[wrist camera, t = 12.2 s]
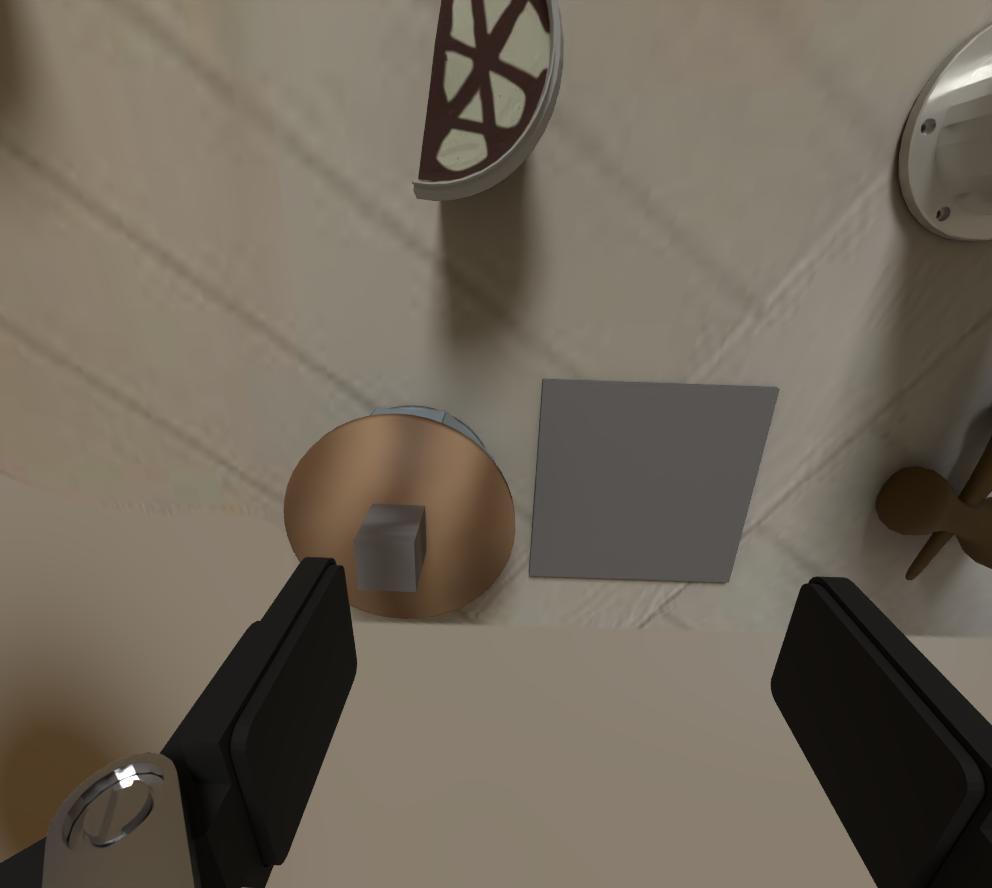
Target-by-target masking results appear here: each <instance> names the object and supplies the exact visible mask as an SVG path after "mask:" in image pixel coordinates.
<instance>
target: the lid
mask: <svg viewBox="0 0 992 888" xmlns="http://www.w3.org/2000/svg"><path fill="white" fill-rule="evenodd" d="M284 521H285V527H286V532H287V536H288V539H289V541H290V544H291V547H292V549H293V551H294V553H295V555H296V557H297V558H298V560H299V562H301V561H302V560H303V559H304V558H305V557H326V558H334V559H335V561H336V564H337V565H342V566H343V567H344V570H345V577H346V584H347V591H348V599H349V605H350V606H353V607H355V608H358V609H360V610H363V611H366V612H369V613H372V614H376V615H380V616H386V617H391V618H404V619H409V618H425V617H432V616H436V615H441V614H445V613H448V612H450V611H453V610H456V609H458V608H460V607H462V606H464V605H466V604H468V603H470V602H472V601H473V600H474V599H476V598H477V597H479V596H480V595H481V594H483V593H484V592H485V591H486V590H487V589H488V588H489V587H490V586H491V585H492V584H493V583H494V582H495V581H496V579H497V578H498V577H499V575H500V574H501V572H502V571H503V569H504V568H505V566H506V563H507V561H508V559H509V557H510V554H511V550H512V547H513V543H514V535H515V514H514V506H513V500H512V496H511V493H510V490H509V487H508V484H507V482H506V480H505V478H504V476H503V474H502V472H501V471H500V469H499V468H498V466H497V465H496V463H495V462H494V461H493V459H492V458H491V457H490V456H489V455H488V454H487V453H486V452H485V451H484V449H482V448H481V447H480V446H479V445H478V444H477V443H475V442H474V441H473V440H472V439H470V438H469V437H467V436H466V435H464V434H463V433H461V432H460V431H458V430H456V429H454V428H452V427H450V426H448V425H446V424H444V423H441V422H438V421H435V420H432V419H429V418H425V417H420V416H416V415H408V414H398V413H396V414H378V415H372V416H366V417H362V418H359V419H356V420H352V421H350V422H348V423H345V424H343V425H341V426H339V427H337V428H335V429H334V430H332V431H331V432H329V433H327V434H326V435H324V436H323V437H322V438H321V439H320V440H319V441H318V442H316V443H315V444H314V445H313V446H312V447H311V448H310V449H309V450H308V452H307V453H306V454H305V455H304V456H303V458H302V459H301V460H300V461H299V463H298V465H297V466H296V468H295V469H294V471H293V473H292V475H291V478H290V480H289V483H288V485H287V490H286V494H285V500H284Z"/></svg>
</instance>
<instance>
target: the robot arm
mask: <svg viewBox="0 0 992 888" xmlns="http://www.w3.org/2000/svg"><path fill="white" fill-rule="evenodd" d="M899 180H900V185H901V190H902V195H903V197H904V200H905V202H906V204H907V206H908V209H909V211H910V212H911V213H912V215H913V216H914V217H915V218H916V220H917V221H918V222H919V223H920V224H921V225H922V226H924V227H925V228H926V229H928V230H929V231H930V232H932V233H934V234H937V235H939V236H941V237H944V238H946V239H952V240H959V241H986V240H992V23H990V24H989V25H987V26H986V27H984V28H982V29H981V30H979V31H977V32H976V33H974V34H973V35H972V36H970V37H969V38H968V39H967V40H966V41H964V42H963V43H962V44H961V45H960V46H958V47H957V48H956V49H955V50H954V51H953V52H952V53H951V54H950V55H949V56H948V57H947V58H946V59H945V60H944V62H943V63H942V64H941V65H940V66H939V67H938V68H937V69H936V71H935V72H934V73H933V75H932V76H931V78H930V79H929V81H928V82H927V84H926V85H925V86H924V88H923V89H922V91H921V93H920V95H919V97H918V99H917V101H916V103H915V105H914V107H913V109H912V110H911V112H910V115H909V118H908V121H907V124H906V127H905V130H904V133H903V136H902V142H901V147H900V153H899ZM356 669H357V658H356V650H355V643H354V635H353V629H352V621H351V613H350V606H349V599H348V591H347V584H346V577H345V570H344V567H343V566H342V565H337V564H336V561H335V559H334V558H326V557H305V558H304V559H303V560H302V561H301V562H300V564H299V565H298V567H297V568H296V570H295V571H294V573H293V574H292V575H291V577H290V578H289V580H288V581H287V583H286V584H285V586H284V587H283V589H282V590H281V592H280V593H279V594H278V596H277V597H276V599H275V600H274V602H273V603H272V605H271V606H270V608H269V609H268V611H267V612H266V614H265V615H264V617H263V618H262V619H261V621H256V622H255V623H253V624H252V625H251V626H250V627H249V628H248V629H247V630H246V632H245V633H244V634H243V636H242V637H241V639H240V640H239V641H238V643H237V645H236V646H235V647H234V649H233V650H232V651H231V653H230V654H229V656H228V657H227V659H226V660H225V661H224V663H223V664H222V666H221V667H220V668H219V670H218V671H217V673H216V674H215V676H214V677H213V679H212V680H211V681H210V683H209V684H208V686H207V687H206V688H205V690H204V691H203V693H202V694H201V695H200V697H199V698H198V700H197V701H196V703H195V704H194V706H193V707H192V708H191V710H190V711H189V713H188V714H187V715H186V717H185V718H184V720H183V721H182V722H181V724H180V725H179V727H178V728H177V730H176V731H175V732H174V734H173V735H172V737H171V738H170V740H169V741H168V742H167V744H166V745H165V747H164V748H163V750H162V751H161V752H160V754H156V753H151V752H147V753H141V754H134V755H131V756H128V757H125V758H123V759H120V760H117V761H115V762H113V763H111V764H109V765H108V766H106V767H104V768H103V769H101V770H99V771H98V772H96V773H94V774H93V775H92V776H91V777H89V778H88V779H87V780H86V781H84V782H83V783H82V784H81V785H79V786H78V787H77V788H76V789H75V790H74V791H73V792H72V794H71V795H70V796H69V797H68V798H67V799H66V800H65V801H64V803H63V804H62V805H61V806H60V808H59V810H58V811H57V813H56V815H55V817H54V818H53V820H52V821H51V823H50V827H49V831H48V835H47V837H45V838H43V839H42V840H40V841H38V842H36V843H35V844H33V845H31V846H30V847H28V848H26V849H24V850H23V851H21V852H19V853H17V854H16V855H14V856H12V857H10V858H9V859H7V860H5V861H3V862H2V863H0V888H241V887H248V888H265V886H266V883H267V881H268V878H269V876H270V873H271V871H272V868H273V866H274V865H281V864H282V863H283V862H284V860H285V859H286V857H287V855H288V852H289V850H290V847H291V845H292V842H293V839H294V837H295V834H296V831H297V829H298V826H299V824H300V821H301V818H302V816H303V813H304V810H305V808H306V805H307V803H308V800H309V797H310V795H311V792H312V789H313V787H314V784H315V781H316V779H317V776H318V774H319V771H320V768H321V766H322V763H323V760H324V758H325V755H326V752H327V750H328V747H329V745H330V742H331V739H332V737H333V734H334V731H335V729H336V726H337V723H338V721H339V718H340V715H341V713H342V710H343V708H344V705H345V702H346V699H347V697H348V695H349V692H350V689H351V686H352V684H353V681H354V678H355V675H356ZM771 691H772V695H773V698H774V700H775V702H776V704H777V706H778V708H779V709H780V711H781V713H782V715H783V717H784V718H785V720H786V722H787V724H788V726H789V728H790V729H791V731H792V733H793V735H794V737H795V738H796V740H797V742H798V744H799V746H800V747H801V749H802V751H803V753H804V755H805V757H806V758H807V760H808V762H809V764H810V765H811V767H812V769H813V771H814V773H815V775H816V776H817V778H818V780H819V782H820V784H821V786H822V787H823V789H824V791H825V793H826V795H827V796H828V798H829V800H830V802H831V804H832V806H833V807H834V809H835V811H836V813H837V815H838V816H839V818H840V820H841V822H842V824H843V825H844V827H845V829H846V831H847V833H848V834H849V836H850V838H851V840H852V842H853V844H854V846H855V847H856V849H857V851H858V853H859V855H860V856H861V858H862V860H863V862H864V864H865V865H866V867H867V869H868V871H869V873H870V875H871V876H872V878H873V879H874V882H875V883H876V885H877V887H878V888H992V725H991V724H990V723H989V722H988V721H987V720H986V719H985V718H984V717H983V716H982V715H981V714H980V713H979V712H978V711H977V710H976V709H975V708H974V707H973V705H971V703H970V702H969V701H968V700H967V699H966V698H965V697H964V696H963V695H962V694H961V693H960V692H959V691H958V690H957V689H956V688H955V687H954V686H953V685H952V684H951V683H950V682H949V681H948V680H947V679H946V678H945V677H944V676H943V675H942V674H941V673H940V672H939V670H938V669H937V668H936V667H935V666H934V665H933V664H932V663H931V662H930V661H929V660H928V659H927V658H926V657H925V656H924V655H923V654H922V653H921V652H920V651H919V650H918V649H917V648H916V647H915V646H914V645H913V644H912V643H911V642H910V641H909V640H908V638H907V637H906V636H905V635H904V634H903V633H902V632H901V631H900V630H899V629H898V628H897V627H896V626H895V625H894V624H893V623H892V622H891V621H890V620H889V619H888V618H887V617H886V616H885V615H884V614H883V613H882V612H881V611H880V610H879V609H878V608H877V607H876V606H875V604H874V603H873V602H872V601H871V600H870V599H869V598H868V597H867V596H866V595H865V594H864V593H863V592H862V591H861V590H860V589H859V588H858V587H857V586H856V585H855V584H854V583H853V582H852V581H851V580H849V579H847V578H840V577H813V578H812V579H811V580H810V581H809V583H808V584H804V585H803V586H802V587H801V589H800V592H799V595H798V598H797V601H796V604H795V607H794V610H793V613H792V616H791V620H790V623H789V626H788V629H787V632H786V635H785V638H784V641H783V645H782V648H781V651H780V654H779V657H778V660H777V663H776V666H775V669H774V672H773V676H772V679H771Z"/></svg>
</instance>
